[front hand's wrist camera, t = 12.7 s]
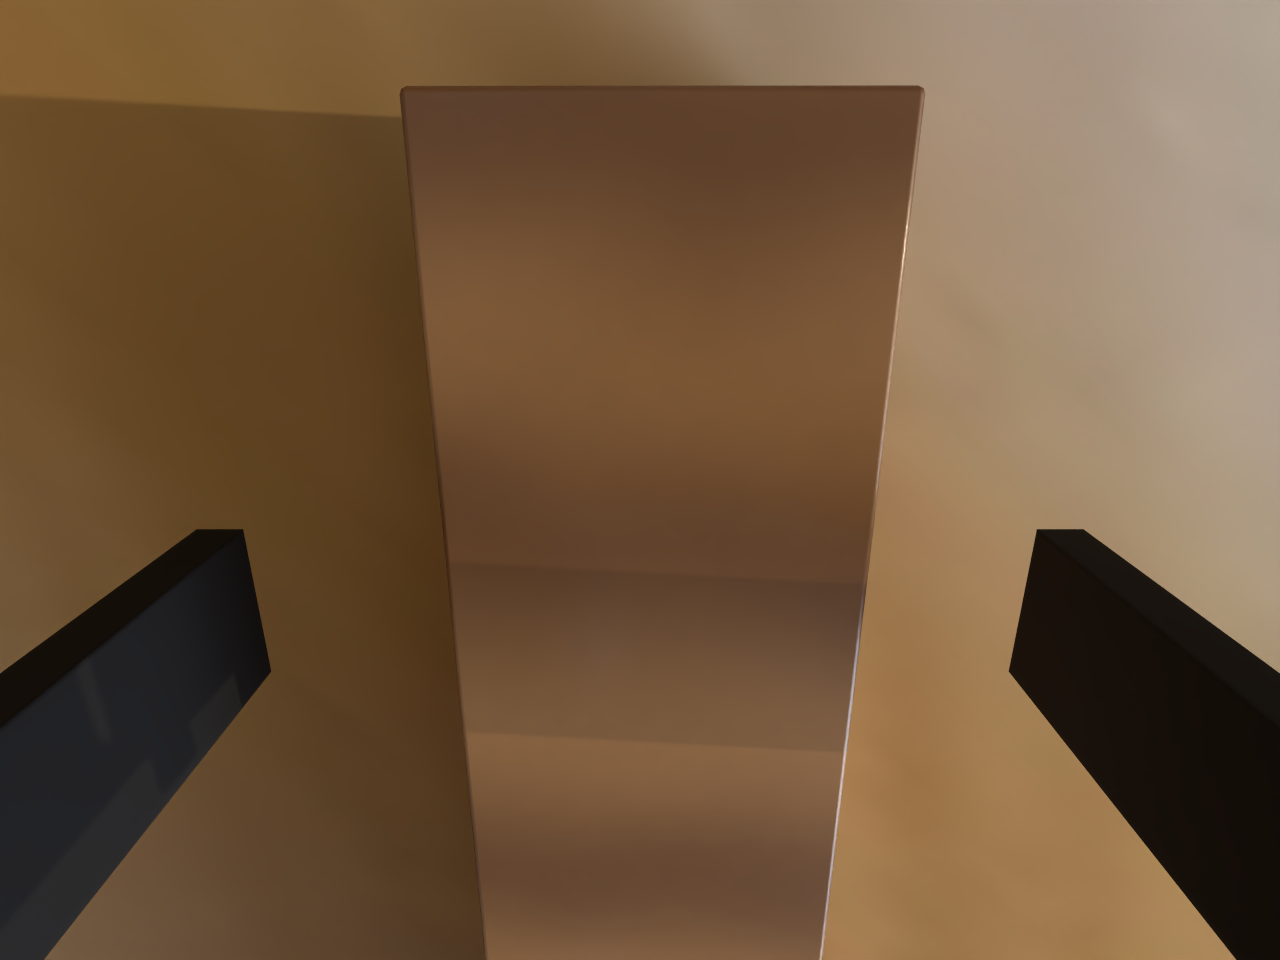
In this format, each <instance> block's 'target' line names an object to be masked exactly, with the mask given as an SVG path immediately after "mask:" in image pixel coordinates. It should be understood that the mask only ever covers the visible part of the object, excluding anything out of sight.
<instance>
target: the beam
mask: <svg viewBox="0 0 1280 960" xmlns="http://www.w3.org/2000/svg"><path fill="white" fill-rule="evenodd" d="M924 99H925V92H924V88H922V87H920V86H406V87H404V88H402V89H401V92H400V103H401V113H402V123H403V133H404V143H405V153H406V163H407V173H408V183H409V193H410V203H411V213H412V224H413V234H414V244H415V254H416V264H417V274H418V284H419V294H420V304H421V314H422V324H423V334H424V345H425V355H426V365H427V375H428V385H429V395H430V405H431V415H432V425H433V435H434V445H435V455H436V466H437V476H438V486H439V496H440V506H441V516H442V526H443V536H444V546H445V556H446V566H447V576H448V587H449V597H450V607H451V617H452V627H453V637H454V647H455V657H456V667H457V677H458V687H459V697H460V708H461V718H462V728H463V738H464V748H465V758H466V768H467V778H468V788H469V798H470V808H471V818H472V829H473V839H474V849H475V859H476V869H477V879H478V889H479V899H480V909H481V919H482V929H483V939H484V950H485V960H822V957H823V948H824V940H825V931H826V923H827V915H828V906H829V898H830V889H831V881H832V872H833V864H834V856H835V847H836V839H837V830H838V822H839V814H840V805H841V797H842V788H843V780H844V772H845V763H846V755H847V746H848V738H849V729H850V721H851V713H852V704H853V696H854V687H855V679H856V671H857V662H858V654H859V645H860V637H861V629H862V620H863V612H864V603H865V595H866V586H867V578H868V570H869V561H870V553H871V544H872V536H873V528H874V519H875V511H876V502H877V494H878V485H879V477H880V469H881V460H882V452H883V443H884V435H885V427H886V418H887V410H888V401H889V393H890V385H891V376H892V368H893V359H894V351H895V342H896V334H897V326H898V317H899V309H900V300H901V292H902V284H903V275H904V267H905V258H906V250H907V242H908V233H909V225H910V216H911V208H912V199H913V191H914V183H915V174H916V166H917V157H918V149H919V141H920V132H921V124H922V115H923V107H924Z"/></svg>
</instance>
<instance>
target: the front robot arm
mask: <svg viewBox="0 0 1280 960" xmlns="http://www.w3.org/2000/svg"><path fill="white" fill-rule="evenodd" d="M270 672H271V668H270V663H269V658H268V653H267V648H266V643H265V638H264V633H263V628H262V623H261V618H260V613H259V608H258V603H257V598H256V592H255V587H254V582H253V577H252V572H251V567H250V562H249V557H248V552H247V547H246V542H245V537H244V532H243V529H196V530H195V531H194V532H192V533H191V534H190V535H188V536H187V537H186V538H184V539H183V540H181V541H180V542H179V543H177V544H176V545H175V546H173V547H172V548H171V549H169V550H168V551H166V552H165V553H164V554H162V555H161V556H160V557H158V558H157V559H156V560H154V561H153V562H151V563H150V564H149V565H147V566H146V567H145V568H143V569H142V570H141V571H139V572H138V573H136V574H135V575H134V576H132V577H131V578H130V579H128V580H127V581H126V582H124V583H123V584H121V585H120V586H119V587H117V588H116V589H115V590H113V591H112V592H111V593H109V594H108V595H106V596H105V597H104V598H102V599H101V600H100V601H98V602H97V603H96V604H94V605H93V606H91V607H90V608H89V609H87V610H86V611H85V612H83V613H82V614H81V615H79V616H78V617H76V618H75V619H74V620H72V621H71V622H70V623H68V624H67V625H66V626H64V627H63V628H61V629H60V630H59V631H57V632H56V633H55V634H53V635H52V636H51V637H49V638H48V639H46V640H45V641H44V642H42V643H41V644H40V645H38V646H37V647H36V648H34V649H33V650H31V651H30V652H29V653H27V654H26V655H25V656H23V657H22V658H21V659H19V660H18V661H16V662H15V663H14V664H12V665H11V666H10V667H8V668H7V669H6V670H4V671H3V672H2V673H0V960H44V959H45V957H46V956H47V955H48V953H49V952H50V951H51V950H52V948H53V947H54V946H55V945H56V943H57V942H58V941H59V940H60V938H61V937H62V936H63V934H64V933H65V932H66V931H67V929H68V928H69V927H70V926H71V924H72V923H73V922H74V921H75V919H76V918H77V917H78V915H79V914H80V913H81V912H82V910H83V909H84V908H85V907H86V905H87V904H88V903H89V902H90V900H91V899H92V898H93V896H94V895H95V894H96V893H97V891H98V890H99V889H100V888H101V886H102V885H103V884H104V883H105V881H106V880H107V879H108V877H109V876H110V875H111V874H112V872H113V871H114V870H115V869H116V867H117V866H118V865H119V864H120V862H121V861H122V860H123V858H124V857H125V856H126V855H127V853H128V852H129V851H130V850H131V848H132V847H133V846H134V845H135V843H136V842H137V841H138V839H139V838H140V837H141V836H142V834H143V833H144V832H145V831H146V829H147V828H148V827H149V826H150V824H151V823H152V822H153V820H154V819H155V818H156V817H157V815H158V814H159V813H160V812H161V810H162V809H163V808H164V807H165V805H166V804H167V803H168V801H169V800H170V799H171V798H172V796H173V795H174V794H175V793H176V791H177V790H178V789H179V788H180V786H181V785H182V784H183V782H184V781H185V780H186V779H187V777H188V776H189V775H190V774H191V772H192V771H193V770H194V769H195V767H196V766H197V765H198V763H199V762H200V761H201V760H202V758H203V757H204V756H205V755H206V753H207V752H208V751H209V750H210V748H211V747H212V746H213V744H214V743H215V742H216V741H217V739H218V738H219V737H220V736H221V734H222V733H223V732H224V731H225V729H226V728H227V727H228V725H229V724H230V723H231V722H232V720H233V719H234V718H235V717H236V715H237V714H238V713H239V712H240V710H241V709H242V708H243V706H244V705H245V704H246V703H247V701H248V700H249V699H250V698H251V696H252V695H253V694H254V693H255V691H256V690H257V689H258V687H259V686H260V685H261V684H262V682H263V681H264V680H265V679H266V677H267V676H268V675H269V674H270ZM1009 672H1010V674H1011V675H1012V676H1013V677H1014V679H1015V680H1016V681H1017V682H1018V684H1019V685H1020V686H1021V687H1022V689H1023V690H1024V691H1025V693H1026V694H1027V695H1028V696H1029V698H1030V699H1031V700H1032V701H1033V703H1034V704H1035V705H1036V706H1037V708H1038V709H1039V710H1040V712H1041V713H1042V714H1043V715H1044V717H1045V718H1046V719H1047V720H1048V722H1049V723H1050V724H1051V725H1052V727H1053V728H1054V729H1055V731H1056V732H1057V733H1058V734H1059V736H1060V737H1061V738H1062V739H1063V741H1064V742H1065V743H1066V744H1067V746H1068V747H1069V748H1070V750H1071V751H1072V752H1073V753H1074V755H1075V756H1076V757H1077V758H1078V760H1079V761H1080V762H1081V763H1082V765H1083V766H1084V767H1085V769H1086V770H1087V771H1088V772H1089V774H1090V775H1091V776H1092V777H1093V779H1094V780H1095V781H1096V782H1097V784H1098V785H1099V786H1100V788H1101V789H1102V790H1103V791H1104V793H1105V794H1106V795H1107V796H1108V798H1109V799H1110V800H1111V801H1112V803H1113V804H1114V805H1115V807H1116V808H1117V809H1118V810H1119V812H1120V813H1121V814H1122V815H1123V817H1124V818H1125V819H1126V820H1127V822H1128V823H1129V824H1130V826H1131V827H1132V828H1133V829H1134V831H1135V832H1136V833H1137V834H1138V836H1139V837H1140V838H1141V839H1142V841H1143V842H1144V843H1145V845H1146V846H1147V847H1148V848H1149V850H1150V851H1151V852H1152V853H1153V855H1154V856H1155V857H1156V858H1157V860H1158V861H1159V862H1160V864H1161V865H1162V866H1163V867H1164V869H1165V870H1166V871H1167V872H1168V874H1169V875H1170V876H1171V877H1172V879H1173V880H1174V881H1175V883H1176V884H1177V885H1178V886H1179V888H1180V889H1181V890H1182V891H1183V893H1184V894H1185V895H1186V896H1187V898H1188V899H1189V900H1190V902H1191V903H1192V904H1193V905H1194V907H1195V908H1196V909H1197V910H1198V912H1199V913H1200V914H1201V915H1202V917H1203V918H1204V919H1205V921H1206V922H1207V923H1208V924H1209V926H1210V927H1211V928H1212V929H1213V931H1214V932H1215V933H1216V934H1217V936H1218V937H1219V938H1220V940H1221V941H1222V942H1223V943H1224V945H1225V946H1226V947H1227V948H1228V950H1229V951H1230V952H1231V953H1232V955H1233V956H1234V957H1235V959H1236V960H1280V673H1278V672H1277V671H1276V670H1274V669H1273V668H1272V667H1270V666H1269V665H1268V664H1266V663H1265V662H1263V661H1262V660H1261V659H1259V658H1258V657H1257V656H1255V655H1254V654H1253V653H1251V652H1250V651H1248V650H1247V649H1246V648H1244V647H1243V646H1242V645H1240V644H1239V643H1238V642H1236V641H1235V640H1234V639H1232V638H1231V637H1229V636H1228V635H1227V634H1225V633H1224V632H1223V631H1221V630H1220V629H1219V628H1217V627H1216V626H1214V625H1213V624H1212V623H1210V622H1209V621H1208V620H1206V619H1205V618H1204V617H1202V616H1201V615H1199V614H1198V613H1197V612H1195V611H1194V610H1193V609H1191V608H1190V607H1189V606H1187V605H1186V604H1184V603H1183V602H1182V601H1180V600H1179V599H1178V598H1176V597H1175V596H1174V595H1172V594H1171V593H1169V592H1168V591H1167V590H1165V589H1164V588H1163V587H1161V586H1160V585H1159V584H1157V583H1156V582H1154V581H1153V580H1152V579H1150V578H1149V577H1148V576H1146V575H1145V574H1144V573H1142V572H1141V571H1139V570H1138V569H1137V568H1135V567H1134V566H1133V565H1131V564H1130V563H1129V562H1127V561H1126V560H1124V559H1123V558H1122V557H1120V556H1119V555H1118V554H1116V553H1115V552H1114V551H1112V550H1111V549H1109V548H1108V547H1107V546H1105V545H1104V544H1103V543H1101V542H1100V541H1099V540H1097V539H1096V538H1094V537H1093V536H1092V535H1090V534H1089V533H1088V532H1086V531H1085V530H1084V529H1037V532H1036V537H1035V542H1034V547H1033V552H1032V557H1031V562H1030V567H1029V572H1028V577H1027V582H1026V587H1025V592H1024V597H1023V603H1022V608H1021V613H1020V618H1019V623H1018V628H1017V633H1016V638H1015V643H1014V648H1013V653H1012V658H1011V663H1010V668H1009Z"/></svg>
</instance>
